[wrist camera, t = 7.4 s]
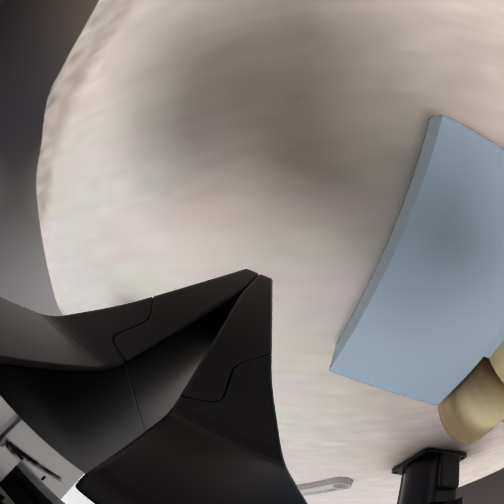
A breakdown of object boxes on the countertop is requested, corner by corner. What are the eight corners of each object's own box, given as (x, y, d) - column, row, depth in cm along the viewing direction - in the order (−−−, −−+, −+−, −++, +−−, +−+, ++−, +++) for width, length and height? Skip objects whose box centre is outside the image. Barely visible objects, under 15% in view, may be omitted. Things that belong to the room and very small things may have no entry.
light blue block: (482, 391, 13) (488, 442, 9) (336, 342, 17) (319, 401, 13) (586, 229, 6) (625, 263, 2) (429, 118, 10) (460, 111, 6)
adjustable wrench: (344, 471, 25) (341, 483, 23) (372, 484, 24) (370, 494, 23) (240, 484, 38) (237, 491, 37) (266, 496, 38) (263, 503, 36)
